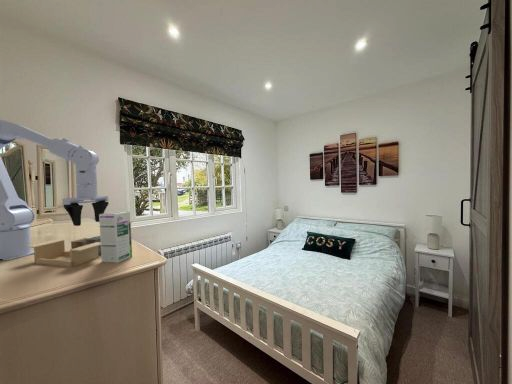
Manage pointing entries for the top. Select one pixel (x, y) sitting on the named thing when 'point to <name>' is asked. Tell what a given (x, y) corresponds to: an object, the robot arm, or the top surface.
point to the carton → (63, 253)
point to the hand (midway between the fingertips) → (88, 223)
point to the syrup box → (115, 236)
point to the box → (86, 243)
